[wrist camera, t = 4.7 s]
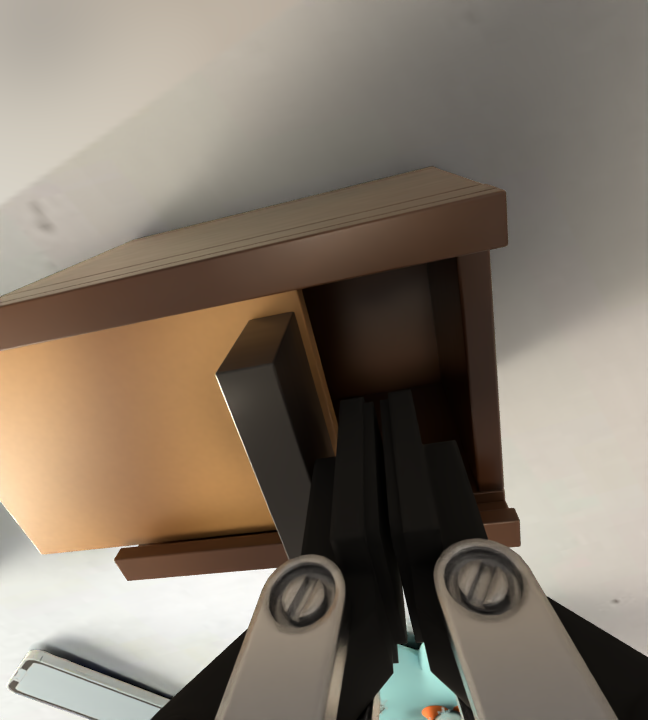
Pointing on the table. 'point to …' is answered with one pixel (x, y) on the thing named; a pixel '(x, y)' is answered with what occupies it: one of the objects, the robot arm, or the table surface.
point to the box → (321, 319)
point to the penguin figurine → (416, 691)
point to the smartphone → (81, 689)
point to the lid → (167, 429)
